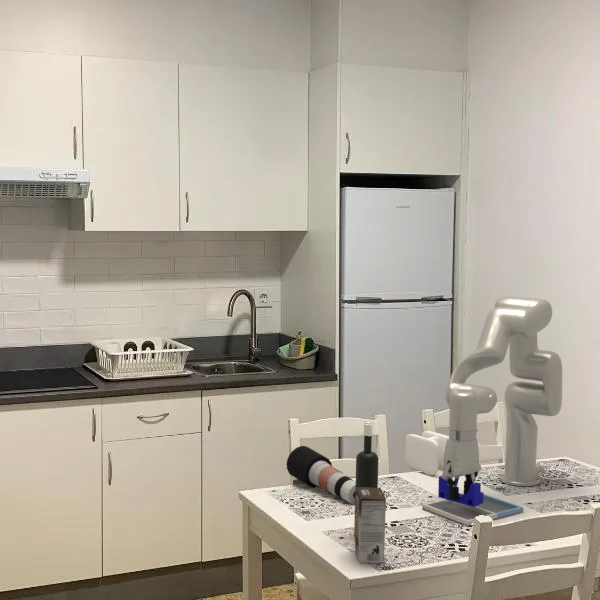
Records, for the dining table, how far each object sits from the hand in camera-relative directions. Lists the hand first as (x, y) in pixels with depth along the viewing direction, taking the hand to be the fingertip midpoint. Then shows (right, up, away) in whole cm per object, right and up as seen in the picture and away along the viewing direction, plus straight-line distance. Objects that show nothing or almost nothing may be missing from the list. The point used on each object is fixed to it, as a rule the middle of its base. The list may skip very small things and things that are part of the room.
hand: (461, 497), depth 268 cm
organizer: (-3, -1, +45) cm, 45 cm away
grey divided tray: (+4, -5, +3) cm, 7 cm away
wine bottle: (-28, -6, -19) cm, 35 cm away
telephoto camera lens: (-36, -3, +17) cm, 40 cm away
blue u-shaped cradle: (0, -1, 0) cm, 1 cm away
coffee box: (-28, -8, -34) cm, 45 cm away
